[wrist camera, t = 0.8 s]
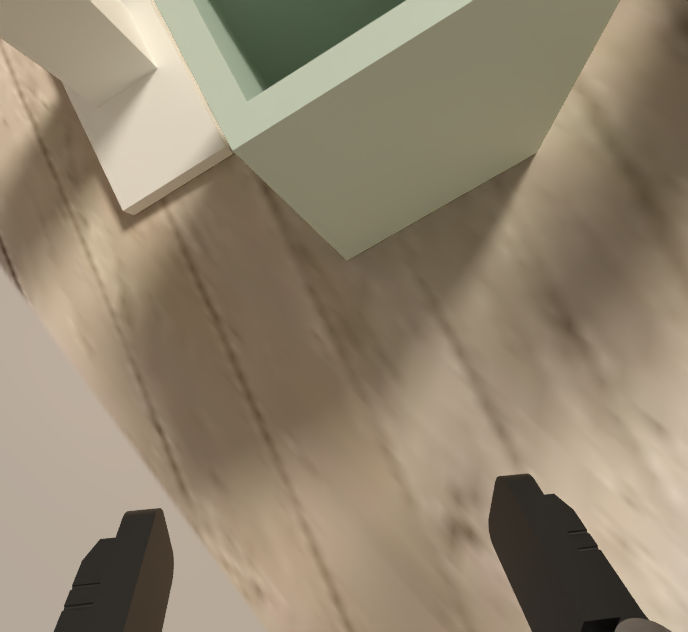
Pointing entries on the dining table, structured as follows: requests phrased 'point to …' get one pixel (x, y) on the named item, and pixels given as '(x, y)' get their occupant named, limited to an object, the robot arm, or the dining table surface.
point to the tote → (383, 96)
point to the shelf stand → (122, 90)
